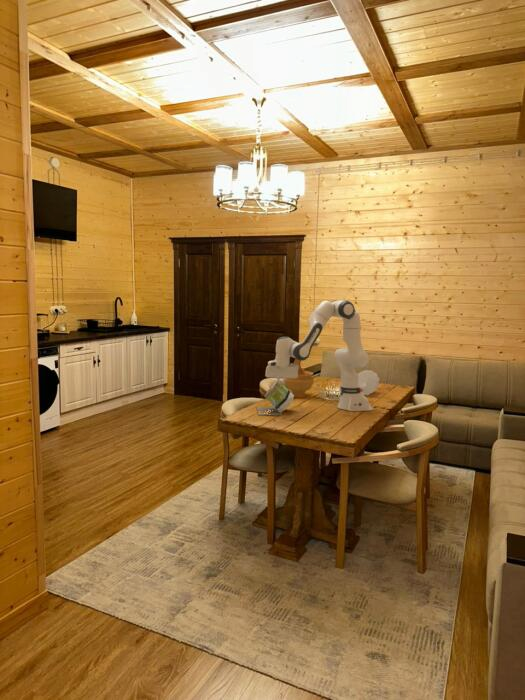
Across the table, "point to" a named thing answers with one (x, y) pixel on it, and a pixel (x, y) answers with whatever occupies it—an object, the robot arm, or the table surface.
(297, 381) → the terracotta urn
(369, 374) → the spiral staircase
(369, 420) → the table surface
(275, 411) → the mat
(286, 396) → the tea box
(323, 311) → the robot arm
